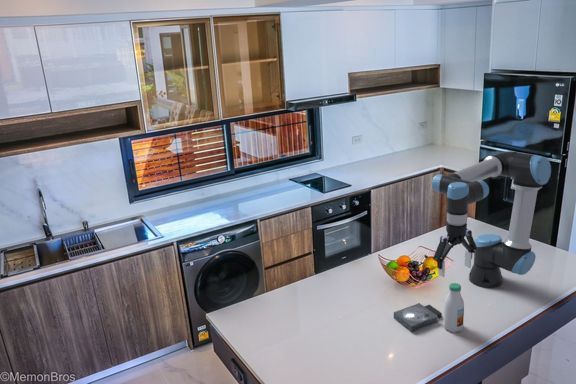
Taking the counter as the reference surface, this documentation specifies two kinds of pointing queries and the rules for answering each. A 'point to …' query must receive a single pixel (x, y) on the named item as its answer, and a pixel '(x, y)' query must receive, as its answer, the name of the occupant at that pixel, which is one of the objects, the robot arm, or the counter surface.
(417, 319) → the dark grey flat block
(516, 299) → the counter surface
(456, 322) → the milk bottle
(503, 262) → the robot arm
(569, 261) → the counter surface
